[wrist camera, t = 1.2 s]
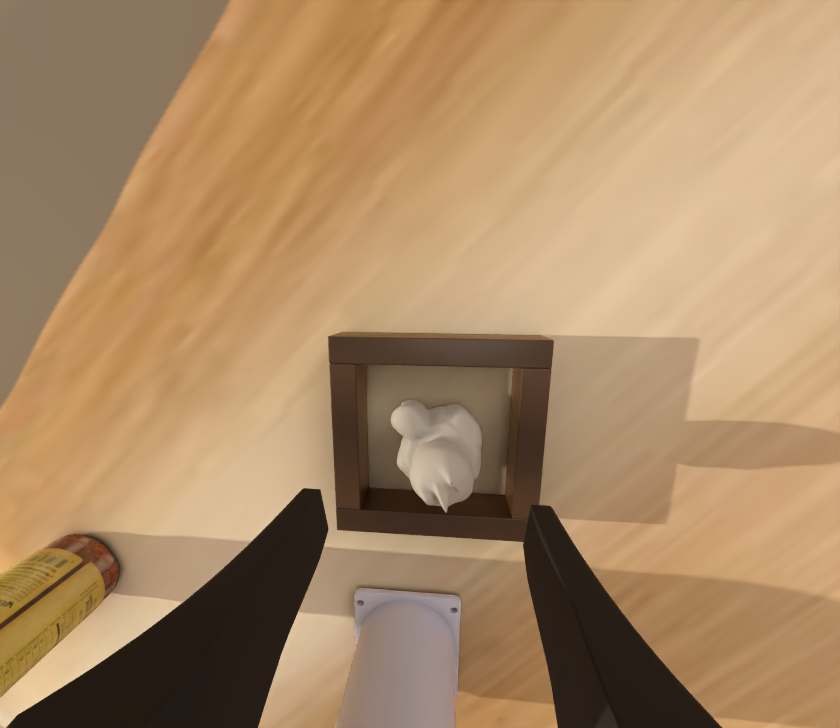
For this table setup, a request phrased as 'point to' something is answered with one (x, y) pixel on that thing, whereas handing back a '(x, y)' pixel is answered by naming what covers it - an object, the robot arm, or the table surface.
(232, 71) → the table surface
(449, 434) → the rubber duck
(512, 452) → the brown wooden square frame
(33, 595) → the sauce bottle
